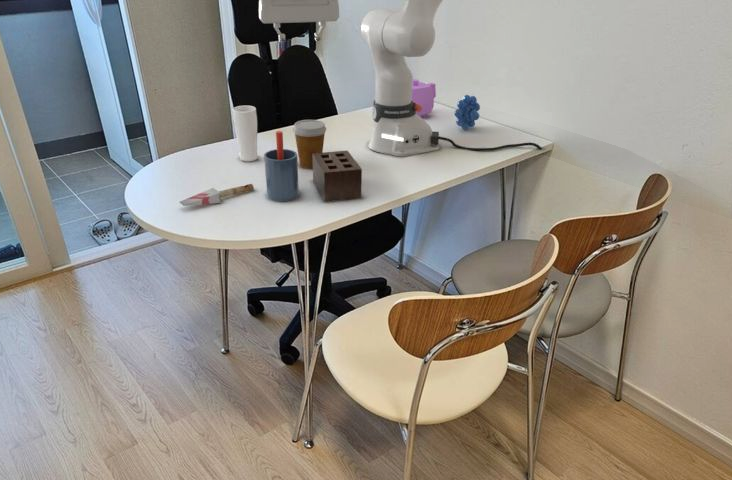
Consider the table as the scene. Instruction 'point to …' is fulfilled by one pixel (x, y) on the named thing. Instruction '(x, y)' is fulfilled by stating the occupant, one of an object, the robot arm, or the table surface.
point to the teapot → (423, 96)
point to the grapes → (467, 112)
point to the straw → (279, 145)
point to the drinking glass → (246, 131)
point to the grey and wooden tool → (215, 195)
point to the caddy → (337, 175)
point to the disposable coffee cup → (309, 140)
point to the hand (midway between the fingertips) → (300, 41)
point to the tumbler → (281, 175)
